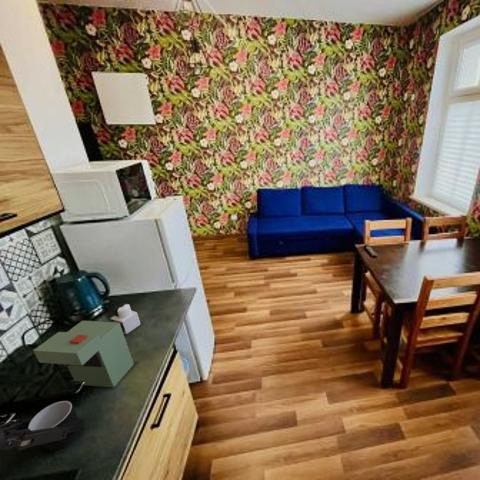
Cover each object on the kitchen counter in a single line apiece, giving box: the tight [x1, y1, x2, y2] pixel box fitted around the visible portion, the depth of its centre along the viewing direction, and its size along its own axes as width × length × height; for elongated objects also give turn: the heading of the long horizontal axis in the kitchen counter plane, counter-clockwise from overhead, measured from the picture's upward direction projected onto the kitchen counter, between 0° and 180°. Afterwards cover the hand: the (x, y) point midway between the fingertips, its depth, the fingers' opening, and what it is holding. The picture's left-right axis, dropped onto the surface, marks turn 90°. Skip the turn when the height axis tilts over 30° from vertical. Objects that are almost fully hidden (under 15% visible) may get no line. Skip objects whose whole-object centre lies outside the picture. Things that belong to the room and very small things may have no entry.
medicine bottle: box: [110, 302, 141, 335], centre depth 118 cm, size 7×7×12 cm
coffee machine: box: [32, 320, 135, 388], centre depth 91 cm, size 14×16×23 cm
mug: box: [21, 400, 80, 451], centre depth 75 cm, size 12×9×10 cm
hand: (63, 423), depth 78 cm, fingers open, 10 cm apart
